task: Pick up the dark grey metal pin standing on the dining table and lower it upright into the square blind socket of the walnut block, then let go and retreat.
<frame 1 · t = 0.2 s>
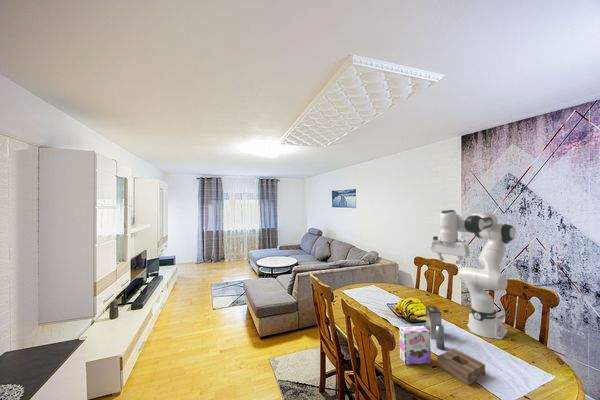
hand: (449, 262, 134), 47 cm above the table, fingers open, 8 cm apart
candy box: (415, 361, 121), on the table
pin: (440, 347, 131), on the table
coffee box: (434, 335, 144), on the table
socket block: (460, 370, 113), on the table
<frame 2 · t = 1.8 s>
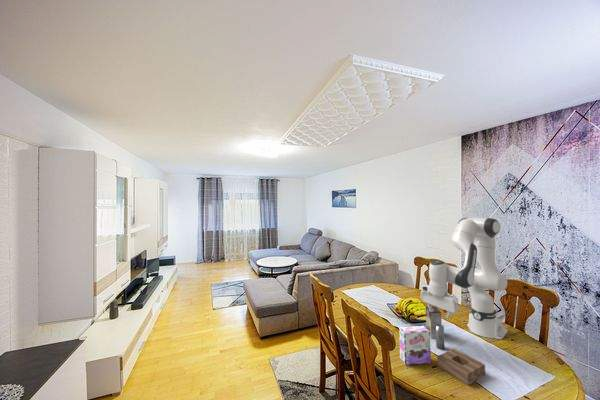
hand: (439, 314, 132), 18 cm above the table, fingers open, 8 cm apart
nothing on the table moved.
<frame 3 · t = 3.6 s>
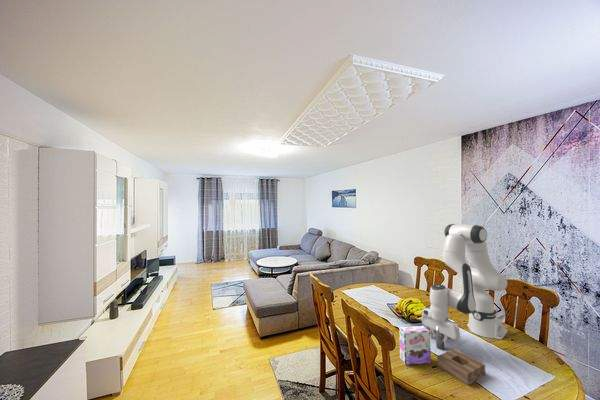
hand: (440, 339, 131), 5 cm above the table, fingers closed on pin, 4 cm apart
pin: (440, 347, 131), on the table, touching gripper
everything else where it was.
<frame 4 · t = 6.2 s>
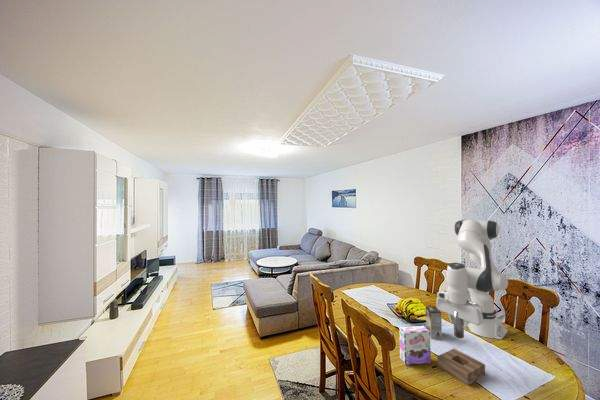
hand: (458, 326, 114), 21 cm above the table, fingers closed on pin, 4 cm apart
pin: (459, 335, 113), point 17 cm above the table, touching gripper
everything else where it was.
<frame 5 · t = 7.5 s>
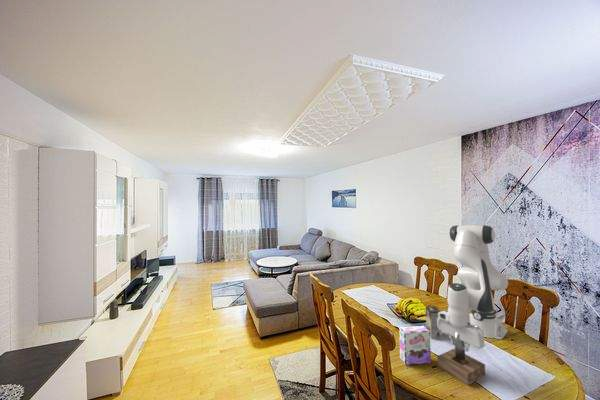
hand: (459, 347, 113), 11 cm above the table, fingers closed on pin, 4 cm apart
pin: (460, 357, 113), point 6 cm above the table, touching gripper
everything else where it was.
when the fingers open (7 cm above the table, at t = 8.7 s): pin stays where it is, resting on socket block.
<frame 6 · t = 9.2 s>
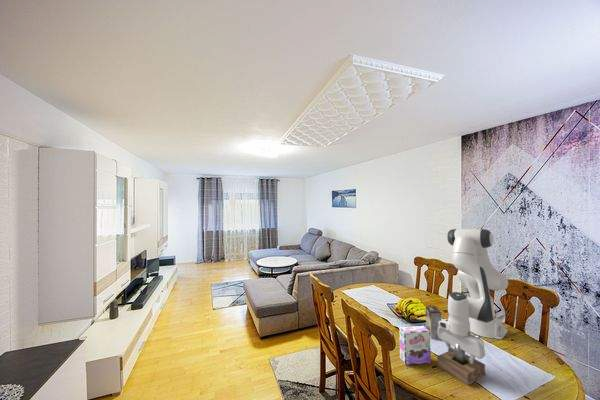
hand: (460, 356, 113), 7 cm above the table, fingers open, 8 cm apart
pin: (460, 368, 113), point 1 cm above the table, touching socket block
everything else where it was.
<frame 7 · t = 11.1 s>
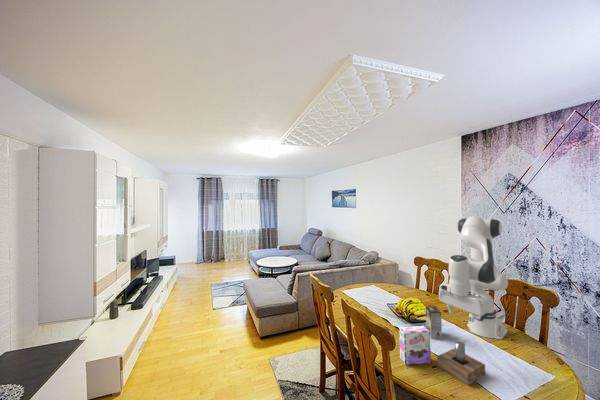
hand: (461, 317, 115), 25 cm above the table, fingers open, 8 cm apart
nothing on the table moved.
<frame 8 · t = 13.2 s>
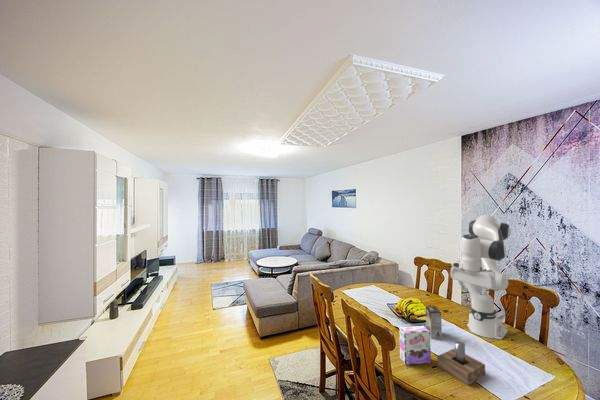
hand: (472, 292, 123), 34 cm above the table, fingers open, 8 cm apart
nothing on the table moved.
at the end: pin 0.0 cm off-centre on the socket block, point 1.0 cm above the socket block's base; pin tilted 0°; the gripper is holding nothing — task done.
